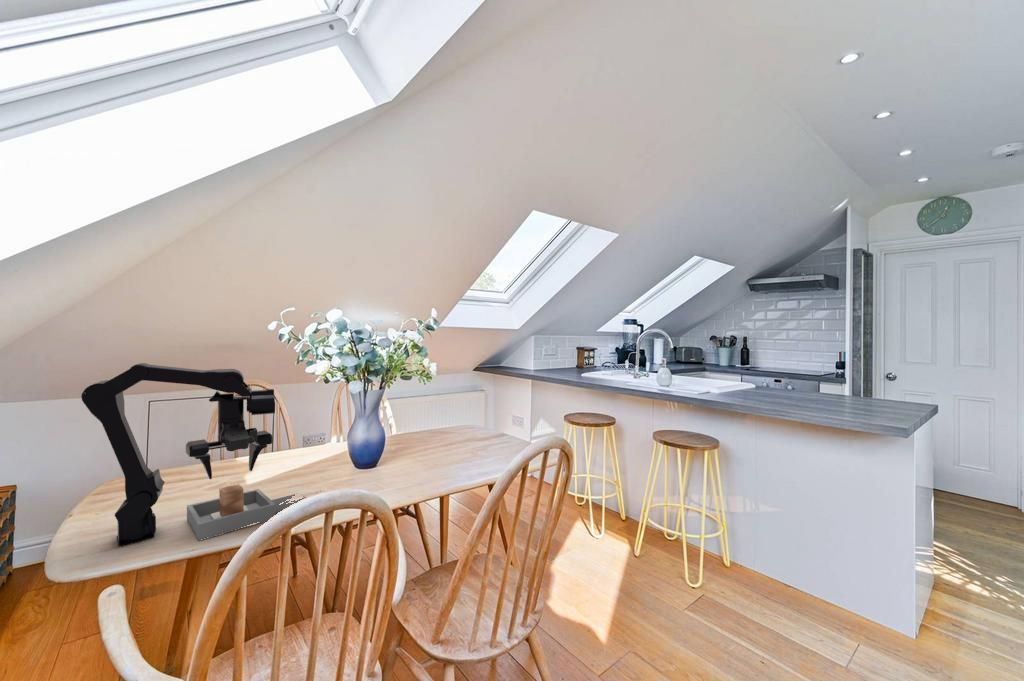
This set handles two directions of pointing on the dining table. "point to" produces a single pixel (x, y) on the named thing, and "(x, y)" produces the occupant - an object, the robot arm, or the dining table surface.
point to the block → (231, 500)
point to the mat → (284, 505)
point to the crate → (211, 523)
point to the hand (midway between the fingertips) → (231, 474)
